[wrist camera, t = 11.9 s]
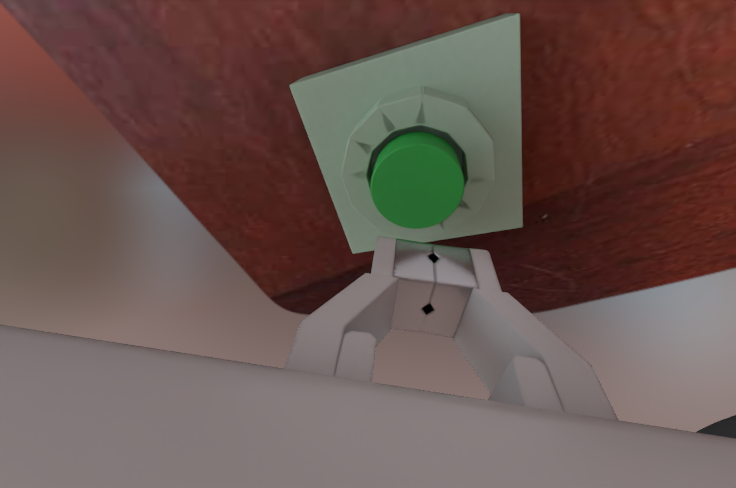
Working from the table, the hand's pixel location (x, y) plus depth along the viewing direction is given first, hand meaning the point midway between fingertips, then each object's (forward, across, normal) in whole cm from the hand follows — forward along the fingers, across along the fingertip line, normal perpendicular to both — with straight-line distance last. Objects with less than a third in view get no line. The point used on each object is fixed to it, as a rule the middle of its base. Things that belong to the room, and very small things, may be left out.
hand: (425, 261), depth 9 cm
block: (+11, 0, +1) cm, 11 cm away
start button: (+7, 0, +1) cm, 7 cm away
